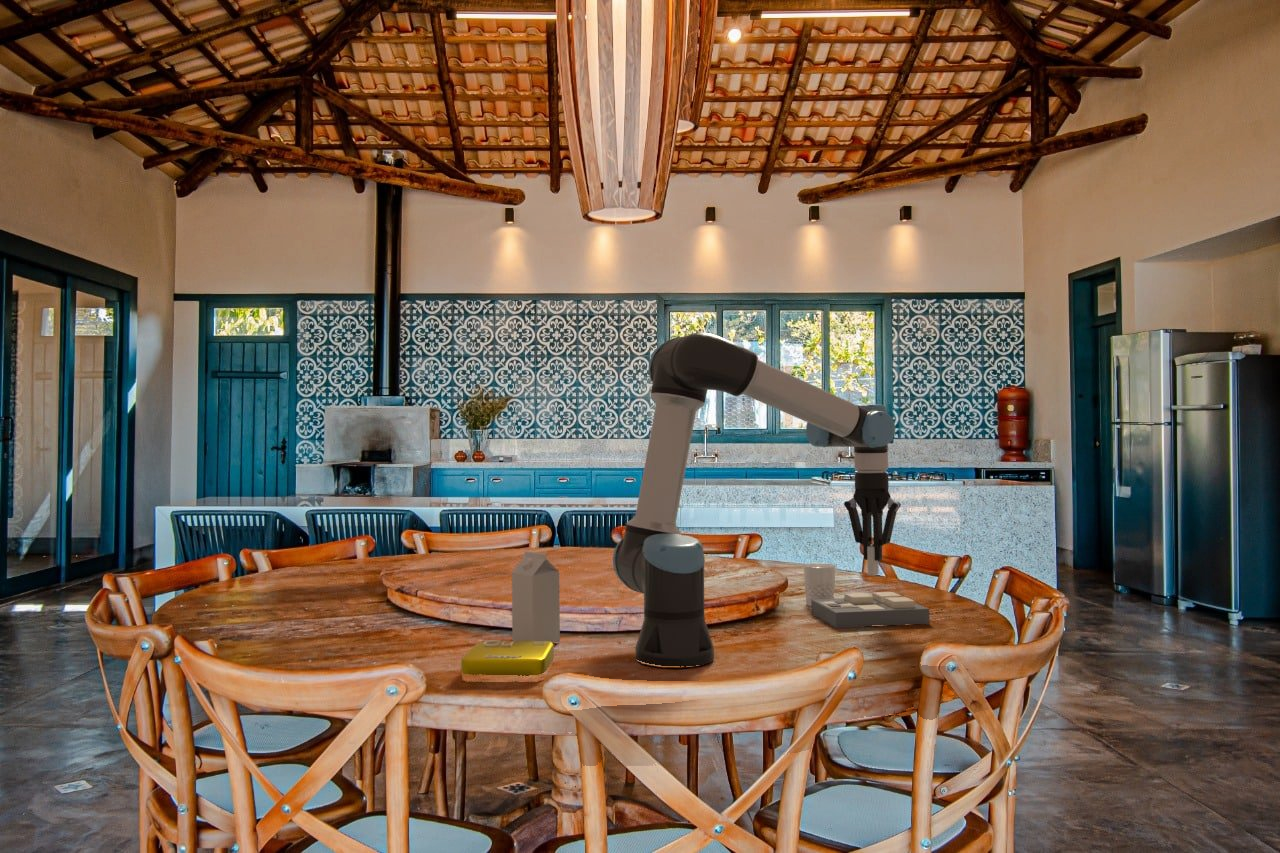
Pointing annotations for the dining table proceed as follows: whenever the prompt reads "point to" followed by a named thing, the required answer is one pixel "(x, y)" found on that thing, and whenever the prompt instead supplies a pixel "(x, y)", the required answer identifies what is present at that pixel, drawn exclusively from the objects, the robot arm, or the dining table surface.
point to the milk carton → (535, 600)
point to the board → (866, 614)
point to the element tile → (508, 658)
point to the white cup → (819, 581)
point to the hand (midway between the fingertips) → (873, 574)
